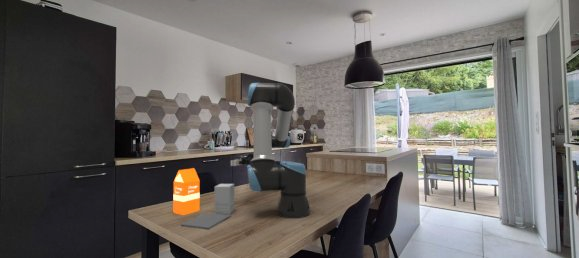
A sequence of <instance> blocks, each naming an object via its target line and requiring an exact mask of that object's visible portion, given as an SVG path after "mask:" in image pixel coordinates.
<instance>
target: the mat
mask: <svg viewBox="0 0 579 258" xmlns="http://www.w3.org/2000/svg"><path fill="white" fill-rule="evenodd" d="M230 218H232V215H231V214H215V212H205V213H202V214H200V215H199V216H198V215H197V216H196V217H194V218H192V219H189V220H187V221H185V222H183V223H181V224H180V227H187V228H195V229H197V228H198V229H203V230H204V229H205V230H210V229H212V228H214V227H216V226H217V225H219V224H220V223H223V222H225V221H226V220H228V219H230Z"/></svg>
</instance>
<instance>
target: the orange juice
mask: <svg viewBox="0 0 579 258" xmlns="http://www.w3.org/2000/svg"><path fill="white" fill-rule="evenodd" d="M200 181H201V180H200V178H199V176H198V173H197V171H196V169H195V168H194V167H191V168H185V169H178V171H177V173H176V176H175V178H174V180H173V195H172V196H173V199H172V200H173V205H172V207H173V208H172V211H173V212H172V213H174V214H177V215H180V216H186V215H189V214H193V213H195V212H199V211H200V198H201V197H200V196H201V194H200V193H201V192H200V189H201V188H200V183H201V182H200Z"/></svg>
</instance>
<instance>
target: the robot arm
mask: <svg viewBox="0 0 579 258" xmlns="http://www.w3.org/2000/svg"><path fill="white" fill-rule="evenodd" d="M295 101H296V100H295V96H294V94H293V92H292V90H291V89H290V88H289V87H288V86H287V85H286V84H284V83H279V82H278V83H277V82H276V83H275V82H274V83H273V82H260V81H258V82H252V83H250V84H249V86H248V93H247V104H246V105H247V106H249V108H250V111H252V112H253V114H252V115H253V119H252V120H253V122H252V123H253V127H252V129H253V137H252V138H253V152H251V153H248V154H247V155H246V156H245V157H242V158H241V157H238V158H234V159H232V160H230V167H236V166H243V165H247V166H246V168H247V177H248V184H249V185H248V186H249V189H250V190H251V191H252V192H260V193H261V192H270V191H272V192H273V191H280V197H279V201H278V204H277V207H276V214H277V215H278V216H281V217H283V218H289V219H290V218H291V219H292V218H293V219H295V218H297V219H298V218H303V217H307V216H308V215H310V214H311V207H310V204H309V201H308V198H307V184H306V183H307V182H306V181H307V180H306V178H307V177H306V176H307V170H306V166H305V164H304V163H301V162H295V161H288V160H287V161H285V160H282V161H280V162H279V164H277V163H276V159H275V158H274V157H273V150H272V149H285V148H286V149H287V148H290V146H291V137H290V136H288V135H289V131H290V123H291V118H292V113H293V112H292V111H294V109H295V105H296V102H295ZM274 107H276V108H277V109H278V110H277V117H276V125H275V126H276V129H275V135H272V117H271V116H272V115H271V114H272V111H273V110H274Z"/></svg>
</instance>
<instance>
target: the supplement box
mask: <svg viewBox="0 0 579 258" xmlns="http://www.w3.org/2000/svg"><path fill="white" fill-rule="evenodd" d="M213 188H214V213H215V214H225V215H231V214H232V213H233V212H234V211H235V183H219V184H217V185H215V186H214V187H213Z"/></svg>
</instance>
